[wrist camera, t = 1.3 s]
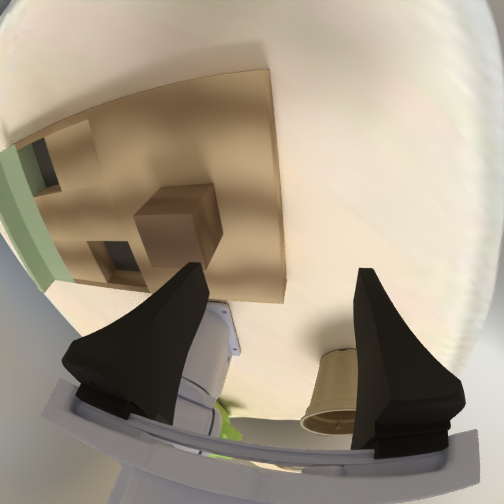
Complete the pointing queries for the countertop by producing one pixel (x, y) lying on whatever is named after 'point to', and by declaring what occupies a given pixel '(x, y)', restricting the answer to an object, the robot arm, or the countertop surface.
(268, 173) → the box
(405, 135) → the countertop surface
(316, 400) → the flower pot
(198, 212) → the walnut block
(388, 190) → the countertop surface
